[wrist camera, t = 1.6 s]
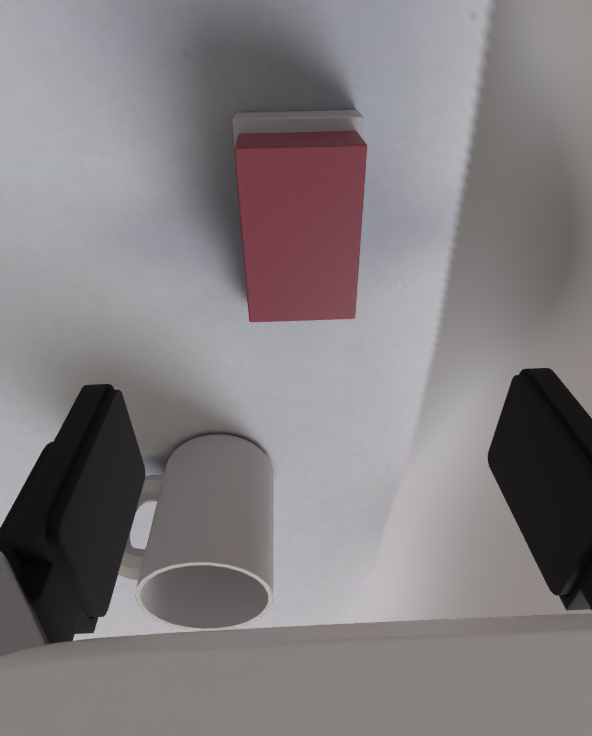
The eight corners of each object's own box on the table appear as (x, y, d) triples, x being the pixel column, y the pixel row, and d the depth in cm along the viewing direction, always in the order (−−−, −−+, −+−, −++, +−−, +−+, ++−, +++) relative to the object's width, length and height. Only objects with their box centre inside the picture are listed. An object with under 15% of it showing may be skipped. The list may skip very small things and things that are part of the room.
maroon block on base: (234, 112, 19) (226, 131, 16) (357, 109, 19) (374, 128, 16) (251, 307, 24) (247, 351, 21) (346, 304, 24) (357, 347, 21)
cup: (266, 505, 34) (264, 633, 27) (126, 494, 33) (86, 626, 26) (280, 436, 30) (282, 566, 23) (120, 421, 29) (69, 554, 22)
